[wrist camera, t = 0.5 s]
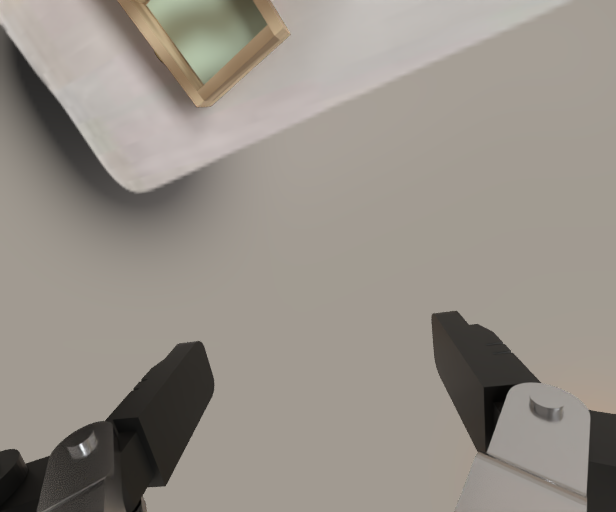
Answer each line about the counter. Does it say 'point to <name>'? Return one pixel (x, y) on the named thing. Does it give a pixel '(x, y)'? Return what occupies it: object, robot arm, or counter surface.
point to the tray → (208, 40)
